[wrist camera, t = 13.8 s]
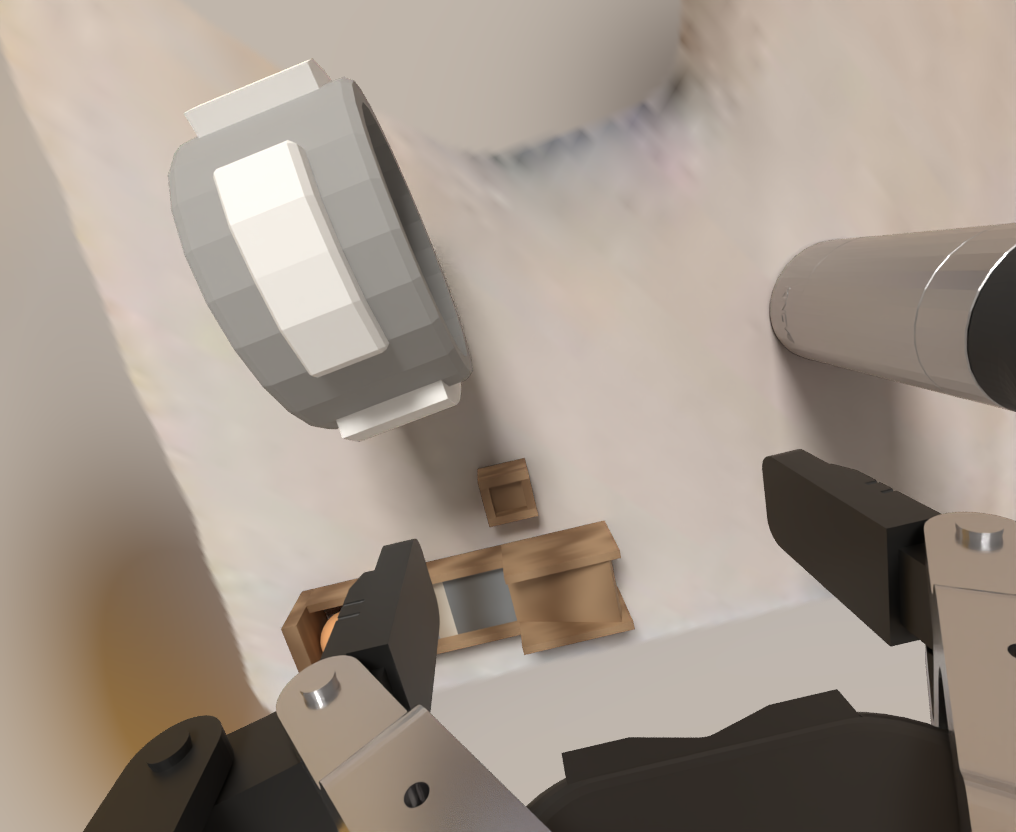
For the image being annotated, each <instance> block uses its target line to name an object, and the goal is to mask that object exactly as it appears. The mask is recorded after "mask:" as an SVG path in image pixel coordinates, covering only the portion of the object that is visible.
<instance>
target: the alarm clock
mask: <svg viewBox="0 0 1016 832" xmlns="http://www.w3.org/2000/svg"><path fill="white" fill-rule="evenodd" d="M184 115H185V116H186V118H187V120H188V121H189V123H190V124H191V126H192V128H193V129H194V131H195V133H196V134H197V136H198V137H195V138H193V139H191V140H189V141H188V142H186V143H184V144H182V145H181V146H180V147H179V148H178V149H177V151H176V152H175V153H174V156H173V160H172V163H171V167H170V170H169V174H168V180H169V191H170V201H171V211H172V214H173V218H174V221H175V224H176V228H177V231H178V234H179V238H180V241H181V244H182V248H183V251H184V255H185V257H186V259H187V261H188V264H189V266H190V268H191V270H192V272H193V275H194V277H195V279H196V281H197V284H198V286H199V288H200V290H201V292H202V295H203V297H204V299H205V301H206V303H207V305H208V307H209V309H210V310H211V312H212V314H213V315H214V317H215V319H216V320H217V322H218V324H219V325H220V327H221V329H222V330H223V332H224V334H225V335H226V337H227V339H228V340H229V342H230V344H231V345H232V347H233V349H234V350H235V351H236V353H237V354H238V355H239V357H240V358H241V359H242V360H243V362H244V363H245V364H246V366H247V367H248V368H249V370H250V371H251V372H252V373H253V375H254V376H255V377H256V379H257V380H258V381H259V382H260V384H261V385H262V386H263V387H264V388H265V389H266V390H267V391H268V392H269V393H270V394H271V395H272V396H273V397H274V398H275V399H276V400H277V401H278V402H279V403H280V404H281V405H282V406H283V407H284V408H285V409H286V410H287V411H288V412H290V413H291V414H293V415H295V416H296V417H298V418H299V419H301V420H303V421H304V422H306V423H307V424H309V425H311V426H315V427H320V428H326V429H338V428H339V430H340V433H341V436H342V439H348V440H353V441H358V442H360V441H363V440H365V439H368V438H371V437H373V436H376V435H379V434H381V433H384V432H387V431H389V430H392V429H394V428H397V427H400V426H402V425H405V424H408V423H410V422H413V421H416V420H418V419H421V418H424V417H426V416H429V415H431V414H434V413H437V412H439V411H442V410H445V409H447V408H450V407H453V406H455V405H457V404H458V402H459V401H460V398H461V382H462V381H465V380H466V379H467V378H468V377H469V376H470V374H471V373H472V371H473V368H472V360H471V357H470V353H469V349H468V345H467V342H466V339H465V335H464V332H463V329H462V326H461V323H460V320H459V317H458V314H457V311H456V308H455V305H454V302H453V300H452V297H451V294H450V291H449V289H448V286H447V283H446V280H445V278H444V275H443V272H442V270H441V267H440V265H439V262H438V259H437V257H436V254H435V252H434V249H433V246H432V244H431V241H430V239H429V237H428V234H427V232H426V229H425V227H424V224H423V222H422V219H421V217H420V214H419V212H418V210H417V207H416V205H415V202H414V200H413V198H412V195H411V193H410V190H409V188H408V186H407V183H406V181H405V179H404V177H403V174H402V172H401V170H400V167H399V165H398V163H397V161H396V158H395V156H394V154H393V152H392V150H391V148H390V145H389V143H388V141H387V139H386V137H385V135H384V132H383V130H382V128H381V126H380V124H379V122H378V120H377V118H376V116H375V114H374V112H373V110H372V108H371V106H370V104H369V103H368V101H367V99H366V97H365V96H364V94H363V92H362V90H361V89H360V87H359V86H358V85H357V84H356V82H355V81H354V80H351V79H348V78H345V77H342V78H339V79H336V80H334V81H332V80H331V79H330V77H329V76H328V75H327V73H326V72H325V71H324V70H323V69H322V68H321V67H320V65H319V64H318V63H317V62H316V61H315V60H314V59H313V58H312V59H310V60H307V61H305V62H302V63H300V64H298V65H295V66H293V67H290V68H288V69H285V70H283V71H281V72H278V73H276V74H273V75H271V76H268V77H266V78H264V79H261V80H259V81H256V82H254V83H251V84H249V85H247V86H244V87H242V88H239V89H237V90H235V91H232V92H230V93H227V94H225V95H222V96H220V97H218V98H215V99H213V100H210V101H208V102H205V103H203V104H201V105H198V106H196V107H194V108H192V109H190V110H188V111H186V112H185V113H184Z"/></svg>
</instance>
